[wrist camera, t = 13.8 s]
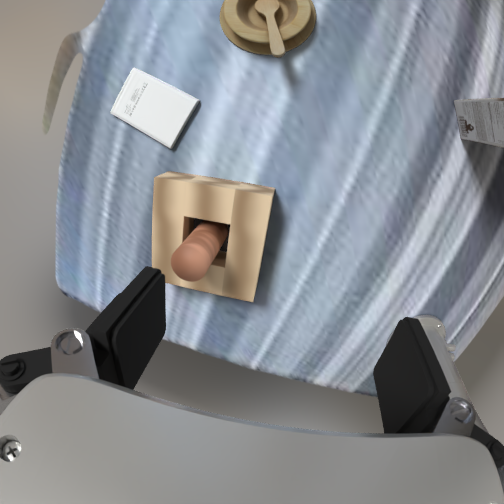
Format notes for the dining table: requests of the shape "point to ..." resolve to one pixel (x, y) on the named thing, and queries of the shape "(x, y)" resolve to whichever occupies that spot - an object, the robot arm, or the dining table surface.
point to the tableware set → (267, 24)
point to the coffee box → (481, 120)
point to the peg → (199, 250)
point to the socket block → (218, 210)
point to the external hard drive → (154, 107)
